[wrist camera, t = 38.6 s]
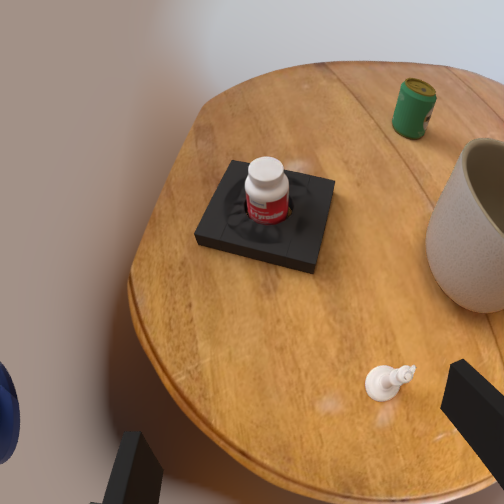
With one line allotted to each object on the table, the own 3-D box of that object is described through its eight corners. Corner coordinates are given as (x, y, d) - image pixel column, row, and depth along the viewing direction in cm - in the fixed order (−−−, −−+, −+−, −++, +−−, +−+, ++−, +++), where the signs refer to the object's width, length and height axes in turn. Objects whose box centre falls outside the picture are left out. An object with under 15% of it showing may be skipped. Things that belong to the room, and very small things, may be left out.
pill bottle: (246, 232, 49) (239, 184, 40) (251, 201, 52) (245, 152, 43) (287, 234, 48) (288, 185, 39) (288, 203, 51) (289, 153, 42)
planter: (521, 272, 41) (581, 212, 25) (475, 354, 36) (560, 306, 20) (447, 198, 50) (488, 121, 34) (386, 261, 45) (434, 174, 29)
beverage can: (420, 145, 58) (435, 101, 47) (387, 130, 60) (398, 85, 50) (426, 128, 61) (440, 87, 51) (395, 114, 64) (406, 72, 53)
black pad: (197, 244, 49) (193, 233, 46) (233, 171, 56) (231, 159, 53) (313, 274, 45) (315, 264, 42) (332, 192, 52) (335, 180, 50)
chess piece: (405, 381, 36) (440, 367, 27) (382, 409, 34) (414, 403, 26) (381, 358, 38) (410, 338, 29) (357, 385, 36) (382, 373, 28)
